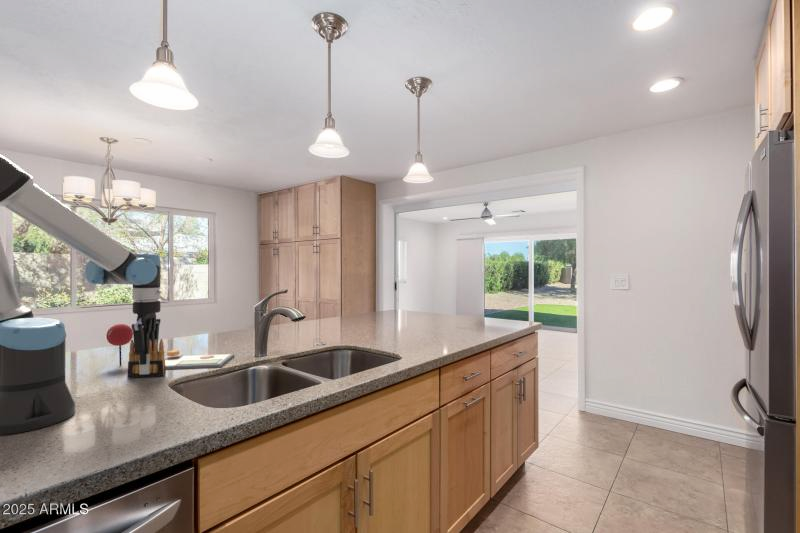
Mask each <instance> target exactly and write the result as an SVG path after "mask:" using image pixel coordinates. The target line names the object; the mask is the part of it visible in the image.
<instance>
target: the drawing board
mask: <svg viewBox="0 0 800 533" xmlns="http://www.w3.org/2000/svg"><path fill="white" fill-rule="evenodd" d="M234 357H235V353H224V354H223V353H220V354H196V355H193V354H191V355H189V354H188V355H175V356H167V355H166V356H164V359H165V370H181V369H182V370H183V369H207V368H221V367H223V366H224V365H225V364H226V363H228V362H229V361H230V360H231V359H233V358H234Z"/></svg>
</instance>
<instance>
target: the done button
mask: <svg viewBox="0 0 800 533" xmlns="http://www.w3.org/2000/svg"><path fill="white" fill-rule="evenodd" d="M166 356H180V350H178V349H177V350H169V351H167V352H166Z"/></svg>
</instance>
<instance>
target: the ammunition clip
mask: <svg viewBox="0 0 800 533" xmlns="http://www.w3.org/2000/svg"><path fill="white" fill-rule="evenodd" d="M164 348H165V346H164V339H162V338H161V339H160V340H159V342H158V343H157V340H156V339H155V341H154V346H153V351H152V342H151V340H150V339H149V345H148V354H150V374H143V375H139V355H136V354H135V348H134V339H131V341H130V344H129V352H128V362H127V373H126V375H127V376H126V377H127V378H153V377H163V376H165V375H167V374H166V369H165V359H164V357H165V349H164Z"/></svg>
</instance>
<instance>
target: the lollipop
mask: <svg viewBox="0 0 800 533" xmlns="http://www.w3.org/2000/svg"><path fill="white" fill-rule="evenodd" d="M133 338H134V337H133V330H132V327H131V326H129V325H127V324H124V323H118V324H115V325H112V326H111V327H110V328H108V330H107V332H106V340H107V342H108V343H109V344H111V346H114V347H115V346H117V347H119V348H118V349H119V350H118V351H119V355H118V356H119V365H121V366H122V346H125V345H127V344H128V343H129V342H130V343H131V340H133Z"/></svg>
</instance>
